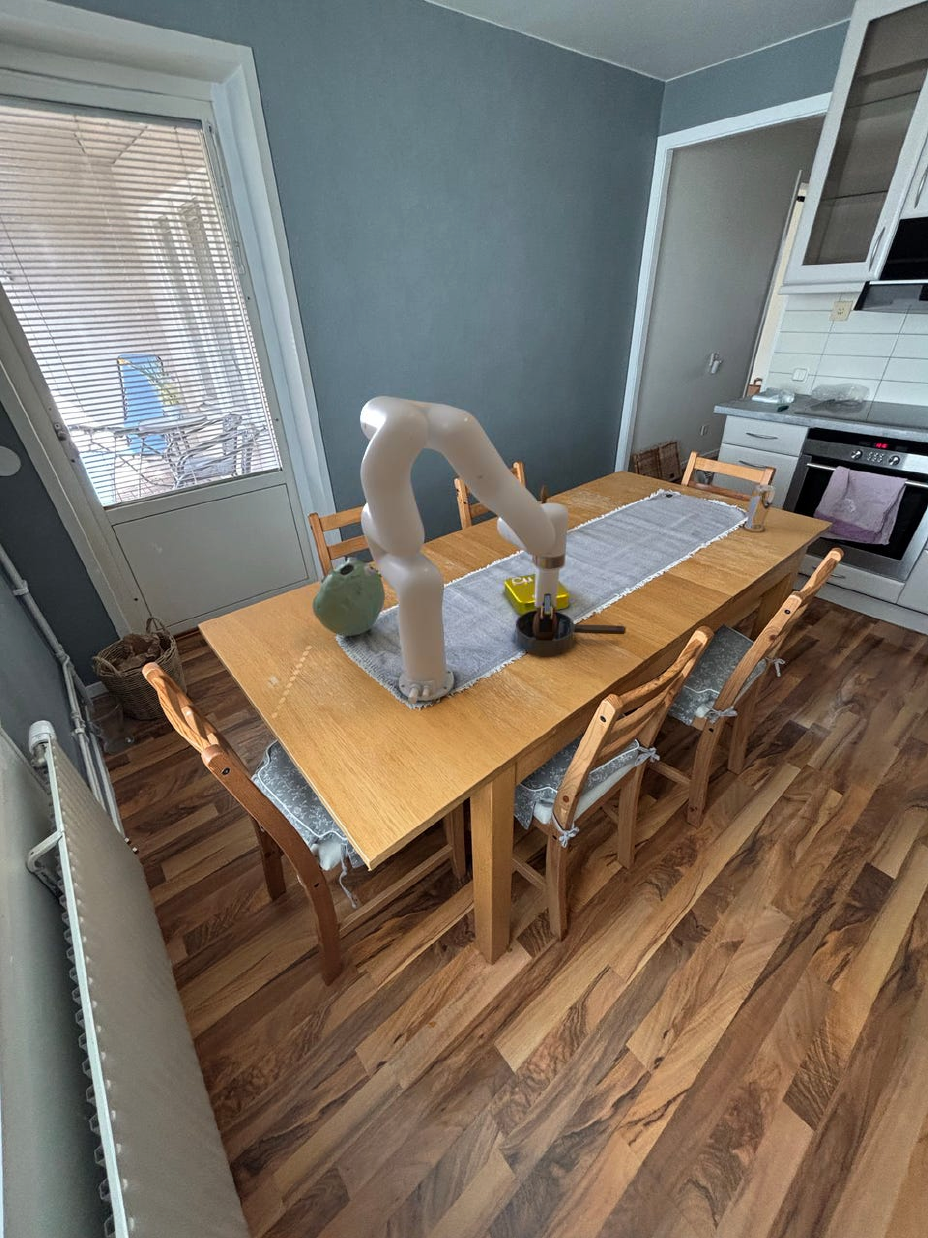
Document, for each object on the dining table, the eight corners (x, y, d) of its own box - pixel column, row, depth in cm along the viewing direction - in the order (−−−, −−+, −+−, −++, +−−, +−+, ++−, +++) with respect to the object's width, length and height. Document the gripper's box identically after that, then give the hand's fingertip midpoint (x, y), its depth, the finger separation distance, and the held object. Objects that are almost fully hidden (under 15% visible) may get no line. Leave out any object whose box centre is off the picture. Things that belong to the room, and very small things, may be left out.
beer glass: (744, 531, 179) (755, 490, 171) (741, 524, 185) (752, 483, 177) (766, 532, 177) (778, 491, 169) (762, 525, 183) (774, 484, 175)
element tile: (520, 617, 137) (520, 602, 135) (502, 591, 150) (502, 577, 147) (571, 607, 140) (572, 592, 138) (549, 583, 153) (550, 569, 150)
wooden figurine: (554, 647, 125) (558, 594, 116) (531, 645, 126) (533, 593, 118) (556, 632, 130) (560, 580, 122) (533, 630, 131) (536, 579, 123)
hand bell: (527, 526, 191) (528, 485, 182) (546, 522, 193) (548, 481, 185) (539, 534, 184) (541, 491, 176) (558, 529, 187) (561, 487, 178)
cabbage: (309, 634, 134) (292, 567, 124) (368, 607, 145) (357, 543, 134) (340, 658, 124) (324, 588, 114) (401, 628, 135) (392, 560, 124)
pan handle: (625, 635, 123) (626, 630, 123) (572, 633, 125) (573, 628, 124) (624, 630, 125) (625, 625, 124) (572, 628, 127) (572, 623, 126)
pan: (575, 657, 121) (576, 642, 119) (514, 655, 123) (514, 640, 120) (571, 624, 133) (572, 610, 131) (516, 623, 135) (516, 608, 133)
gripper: (532, 542, 123) (530, 604, 133) (532, 575, 109) (529, 642, 118) (563, 542, 122) (558, 605, 132) (567, 575, 108) (562, 643, 118)
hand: (545, 622), depth 125 cm, fingers closed on wooden figurine, 6 cm apart
